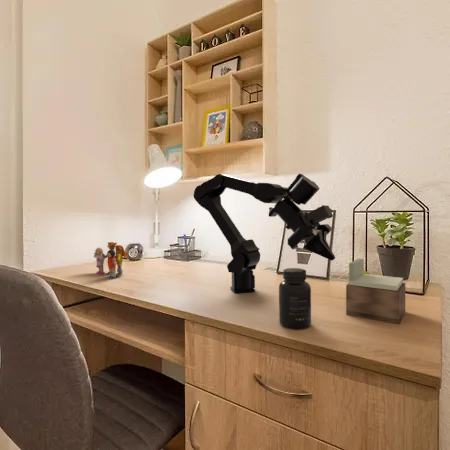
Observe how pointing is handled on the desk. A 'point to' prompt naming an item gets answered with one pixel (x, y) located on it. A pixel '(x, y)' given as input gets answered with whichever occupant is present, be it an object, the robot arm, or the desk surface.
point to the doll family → (111, 259)
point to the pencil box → (376, 303)
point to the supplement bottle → (294, 299)
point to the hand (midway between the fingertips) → (333, 259)
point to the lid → (371, 278)
